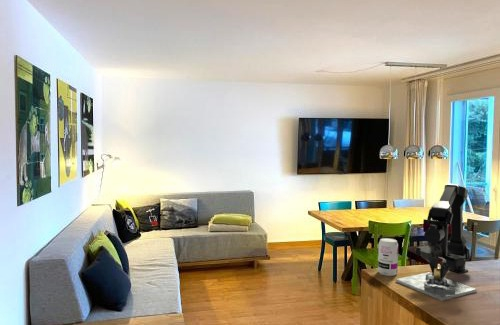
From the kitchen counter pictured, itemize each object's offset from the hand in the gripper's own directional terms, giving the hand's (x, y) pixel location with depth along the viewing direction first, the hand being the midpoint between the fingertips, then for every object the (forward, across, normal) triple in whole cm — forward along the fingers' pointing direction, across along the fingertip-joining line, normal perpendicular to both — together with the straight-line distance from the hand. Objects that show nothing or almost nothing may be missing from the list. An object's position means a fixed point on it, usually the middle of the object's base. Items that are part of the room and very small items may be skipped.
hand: (438, 277), depth 157 cm
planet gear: (+2, 0, 0) cm, 2 cm away
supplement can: (+6, -24, -3) cm, 24 cm away
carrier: (+5, -3, +2) cm, 6 cm away
